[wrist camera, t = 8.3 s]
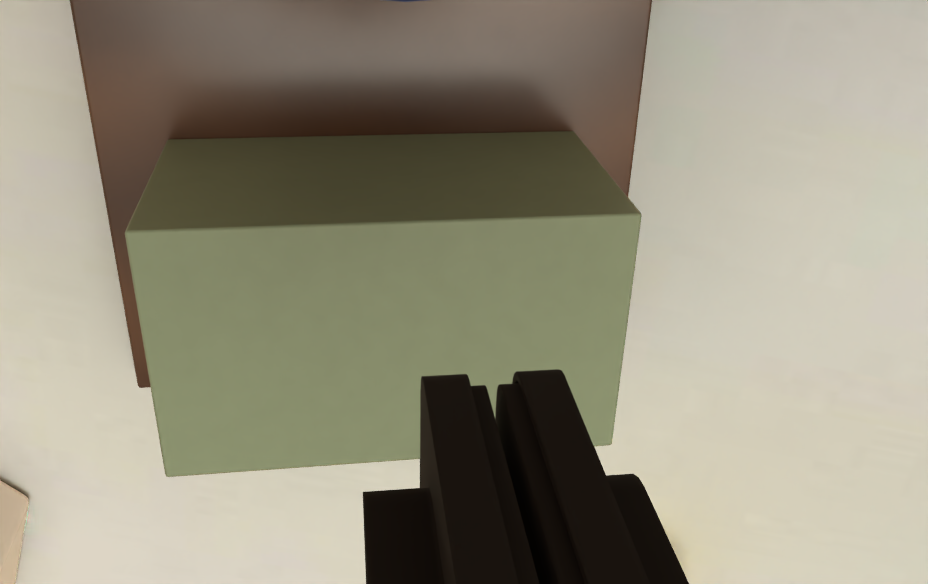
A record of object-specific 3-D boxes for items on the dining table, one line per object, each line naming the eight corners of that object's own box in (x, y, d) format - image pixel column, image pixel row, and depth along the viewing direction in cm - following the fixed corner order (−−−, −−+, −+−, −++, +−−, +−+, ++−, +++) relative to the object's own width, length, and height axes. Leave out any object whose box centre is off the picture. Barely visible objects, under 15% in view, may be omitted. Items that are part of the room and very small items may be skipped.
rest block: (166, 138, 25) (123, 231, 20) (574, 130, 27) (642, 213, 21) (195, 347, 29) (165, 478, 23) (557, 328, 30) (612, 446, 25)
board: (1, -462, 20) (-16, -478, 19) (686, -414, 22) (705, -426, 21) (143, 369, 30) (137, 388, 29) (599, 343, 32) (609, 361, 31)
